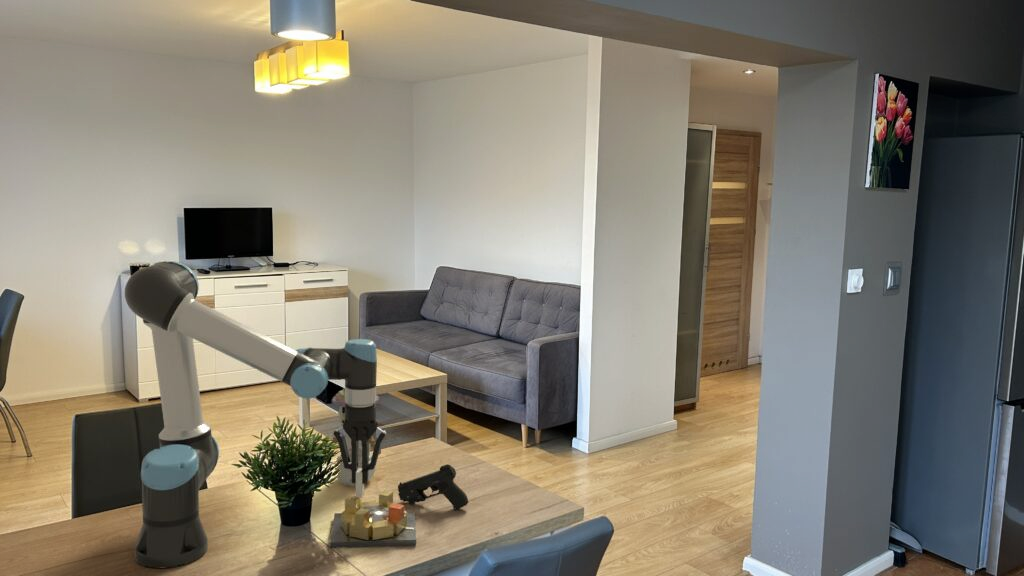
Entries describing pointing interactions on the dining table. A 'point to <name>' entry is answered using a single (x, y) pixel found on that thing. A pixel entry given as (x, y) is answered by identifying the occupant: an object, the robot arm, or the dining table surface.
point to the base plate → (376, 514)
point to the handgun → (434, 488)
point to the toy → (346, 474)
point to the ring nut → (358, 518)
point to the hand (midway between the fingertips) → (359, 495)
